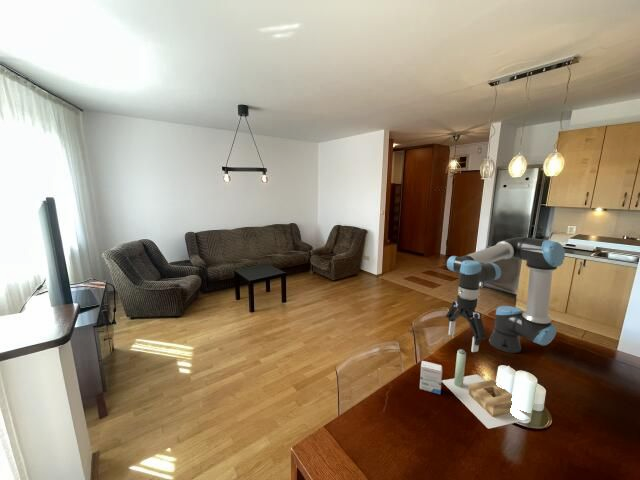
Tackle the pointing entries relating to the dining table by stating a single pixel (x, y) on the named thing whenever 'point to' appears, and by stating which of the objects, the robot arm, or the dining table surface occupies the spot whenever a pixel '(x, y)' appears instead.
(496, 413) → the wooden square holder
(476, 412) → the grey mat
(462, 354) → the pale green cylinder
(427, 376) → the ink box
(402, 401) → the dining table surface
